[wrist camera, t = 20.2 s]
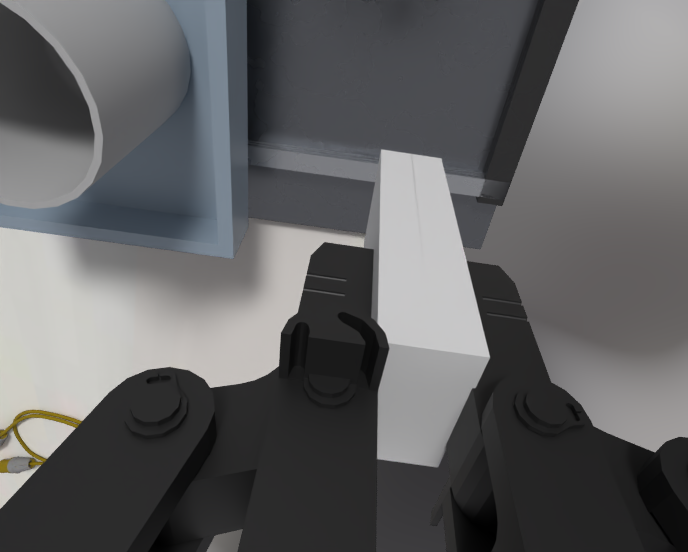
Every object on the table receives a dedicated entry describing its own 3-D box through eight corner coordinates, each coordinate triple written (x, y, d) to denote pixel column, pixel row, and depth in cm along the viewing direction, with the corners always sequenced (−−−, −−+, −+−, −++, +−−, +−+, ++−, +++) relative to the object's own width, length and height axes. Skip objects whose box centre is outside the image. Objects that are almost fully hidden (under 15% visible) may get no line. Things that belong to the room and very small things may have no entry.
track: (633, -186, 19) (651, -195, 18) (479, 244, 33) (483, 257, 31) (-80, -300, 19) (-113, -317, 17) (58, 186, 32) (44, 196, 31)
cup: (170, 151, 24) (82, 241, 17) (-32, 47, 22) (-234, 102, 15) (215, 16, 20) (125, 60, 13) (-26, -130, 18) (-298, -173, 11)
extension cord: (-41, 397, 49) (-55, 412, 47) (106, 413, 49) (96, 430, 47) (1, 459, 56) (-11, 474, 55) (128, 474, 56) (120, 489, 55)
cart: (259, -201, 18) (217, -246, 14) (257, 207, 30) (233, 258, 25) (-105, -258, 18) (-275, -325, 13) (32, 176, 29) (-34, 222, 25)
